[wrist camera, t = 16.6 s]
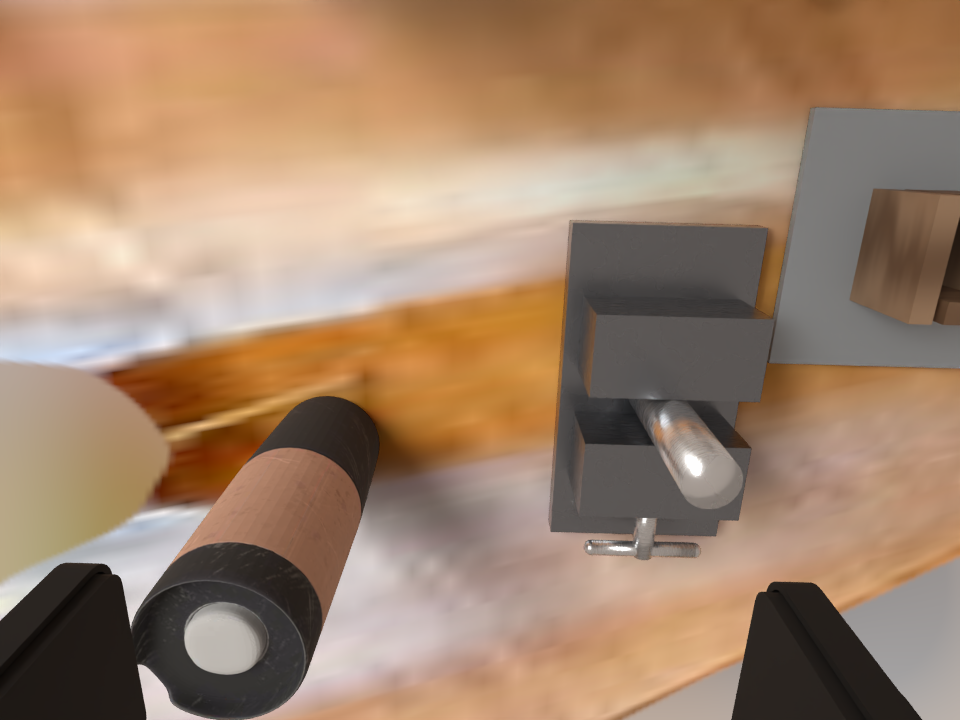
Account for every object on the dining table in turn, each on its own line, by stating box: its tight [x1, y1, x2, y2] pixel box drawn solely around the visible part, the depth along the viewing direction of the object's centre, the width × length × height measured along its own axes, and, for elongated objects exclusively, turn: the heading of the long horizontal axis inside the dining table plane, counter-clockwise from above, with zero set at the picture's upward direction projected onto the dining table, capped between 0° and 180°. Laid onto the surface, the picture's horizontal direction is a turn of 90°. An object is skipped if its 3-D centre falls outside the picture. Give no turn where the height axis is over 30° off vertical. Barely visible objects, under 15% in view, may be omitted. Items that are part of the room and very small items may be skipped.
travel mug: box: [131, 396, 379, 720], centre depth 36 cm, size 8×8×20 cm
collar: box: [849, 189, 960, 325], centre depth 37 cm, size 7×7×6 cm
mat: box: [767, 107, 960, 368], centre depth 40 cm, size 16×16×1 cm
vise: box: [549, 220, 775, 560], centre depth 37 cm, size 22×12×14 cm, turn 178°
